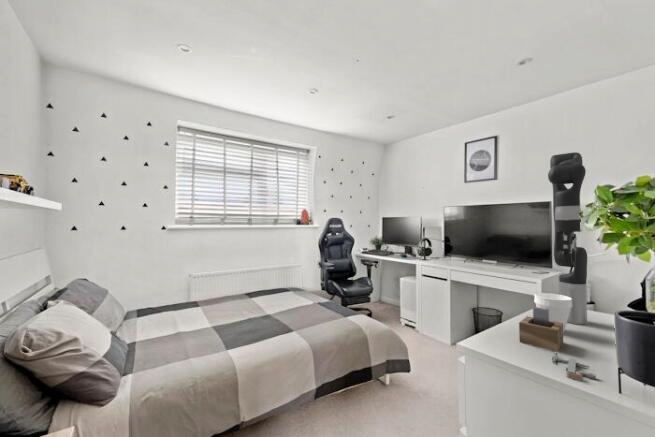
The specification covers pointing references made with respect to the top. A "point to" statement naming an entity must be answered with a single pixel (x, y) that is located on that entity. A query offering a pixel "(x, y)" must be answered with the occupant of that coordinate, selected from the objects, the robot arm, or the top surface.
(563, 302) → the cup
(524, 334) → the well block
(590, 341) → the top surface
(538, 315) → the grey upright bar
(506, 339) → the top surface
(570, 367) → the clamp
